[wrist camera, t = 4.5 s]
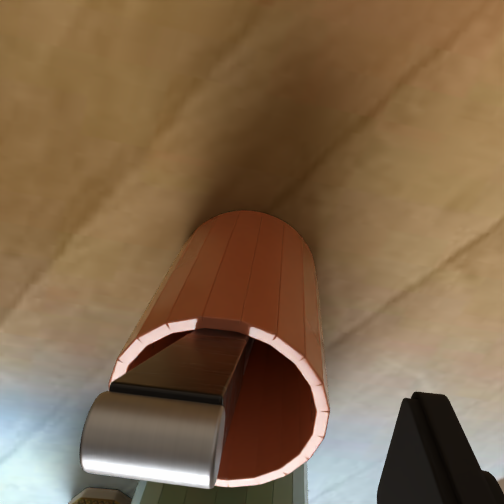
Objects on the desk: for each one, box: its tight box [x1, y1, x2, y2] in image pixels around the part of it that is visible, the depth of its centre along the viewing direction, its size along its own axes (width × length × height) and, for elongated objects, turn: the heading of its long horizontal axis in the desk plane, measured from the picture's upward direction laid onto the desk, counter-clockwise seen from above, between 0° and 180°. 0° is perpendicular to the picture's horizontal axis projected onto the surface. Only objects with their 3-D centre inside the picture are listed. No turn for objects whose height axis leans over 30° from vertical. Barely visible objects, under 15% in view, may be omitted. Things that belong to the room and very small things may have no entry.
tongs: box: [80, 328, 255, 489], centre depth 16 cm, size 2×10×18 cm, turn 176°
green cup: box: [131, 462, 308, 504], centre depth 26 cm, size 10×10×11 cm
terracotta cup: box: [109, 210, 330, 488], centre depth 21 cm, size 8×8×11 cm
